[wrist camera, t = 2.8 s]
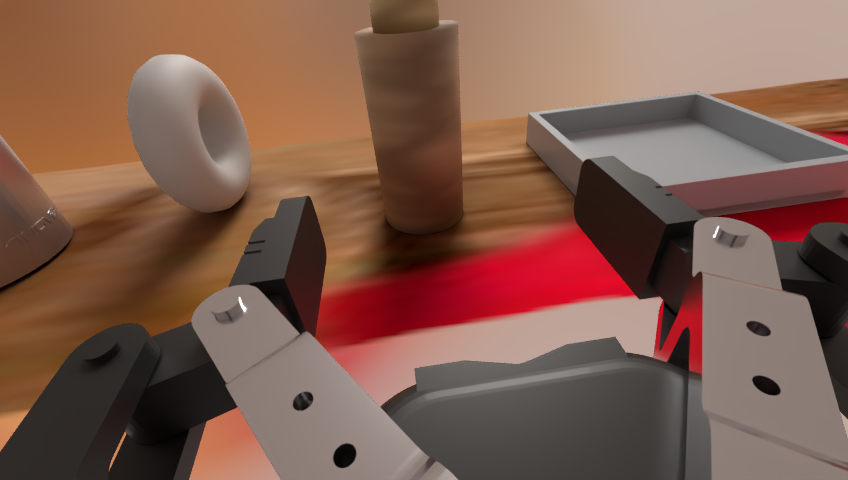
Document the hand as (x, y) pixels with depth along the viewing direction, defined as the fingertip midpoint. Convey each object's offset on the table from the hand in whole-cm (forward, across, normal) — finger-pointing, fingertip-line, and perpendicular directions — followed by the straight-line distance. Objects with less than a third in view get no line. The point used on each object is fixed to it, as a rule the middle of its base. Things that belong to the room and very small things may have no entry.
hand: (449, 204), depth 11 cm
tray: (+13, -17, +7) cm, 23 cm away
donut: (+16, +14, +7) cm, 22 cm away
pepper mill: (+11, 0, +7) cm, 13 cm away
